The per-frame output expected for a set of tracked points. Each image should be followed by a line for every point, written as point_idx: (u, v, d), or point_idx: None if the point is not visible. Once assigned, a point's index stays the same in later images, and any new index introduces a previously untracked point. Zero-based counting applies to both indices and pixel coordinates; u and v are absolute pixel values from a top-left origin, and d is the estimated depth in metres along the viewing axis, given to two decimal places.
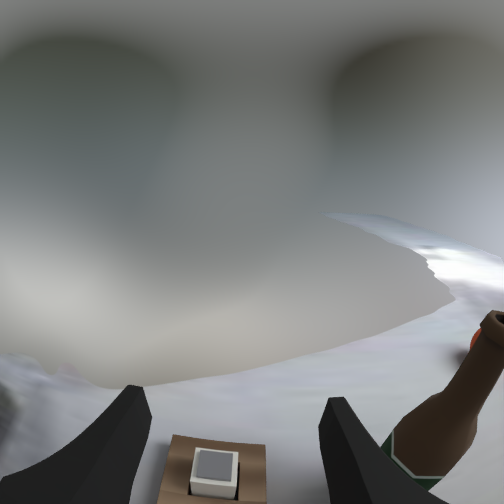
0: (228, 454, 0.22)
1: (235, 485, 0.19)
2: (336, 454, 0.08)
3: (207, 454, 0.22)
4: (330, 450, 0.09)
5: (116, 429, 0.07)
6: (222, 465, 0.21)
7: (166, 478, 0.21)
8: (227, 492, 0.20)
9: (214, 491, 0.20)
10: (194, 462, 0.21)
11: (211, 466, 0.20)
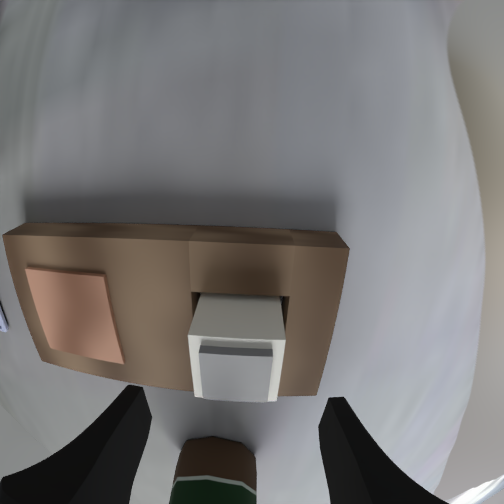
0: (263, 397, 0.12)
1: (197, 395, 0.13)
2: (336, 454, 0.08)
3: (260, 368, 0.12)
4: (330, 450, 0.09)
5: (116, 429, 0.07)
6: (234, 389, 0.12)
7: (220, 250, 0.13)
8: None
9: None
10: (240, 340, 0.12)
11: (228, 375, 0.12)
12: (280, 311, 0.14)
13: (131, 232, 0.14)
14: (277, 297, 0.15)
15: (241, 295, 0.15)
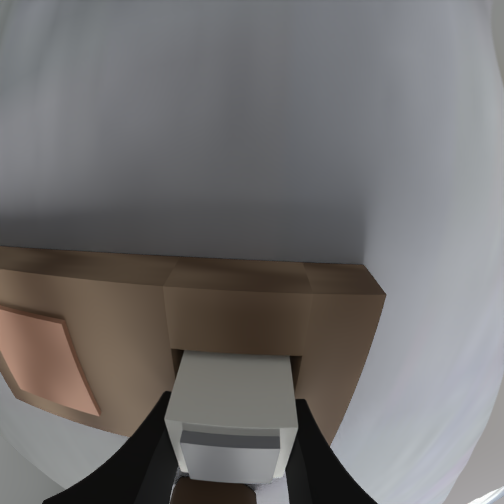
0: (266, 480, 0.08)
1: (183, 471, 0.09)
2: (292, 457, 0.08)
3: (263, 459, 0.07)
4: None
5: (161, 438, 0.07)
6: (229, 474, 0.08)
7: (207, 300, 0.09)
8: None
9: None
10: (236, 429, 0.08)
11: (221, 463, 0.08)
12: (290, 378, 0.10)
13: (91, 267, 0.10)
14: (286, 355, 0.11)
15: None
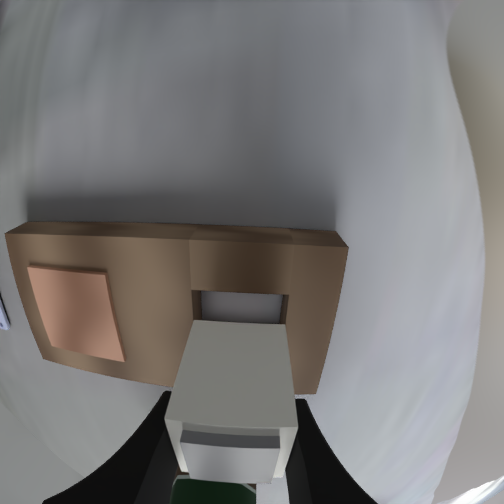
0: (266, 480, 0.08)
1: (183, 470, 0.09)
2: (292, 457, 0.08)
3: (263, 458, 0.08)
4: None
5: (161, 438, 0.07)
6: (229, 474, 0.08)
7: (220, 249, 0.14)
8: None
9: None
10: (236, 428, 0.08)
11: (221, 463, 0.08)
12: (290, 378, 0.10)
13: (132, 231, 0.14)
14: (286, 354, 0.11)
15: (238, 352, 0.11)
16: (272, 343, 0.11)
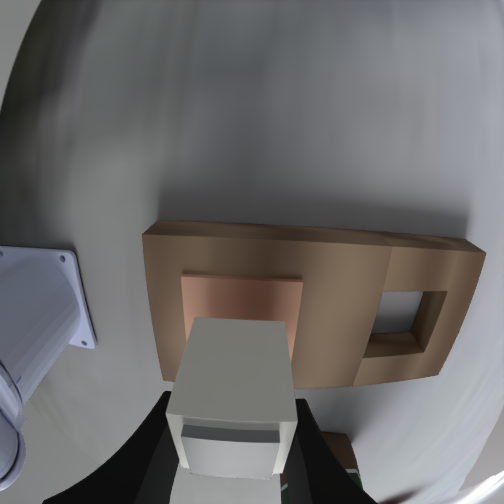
0: (266, 475, 0.08)
1: (184, 466, 0.09)
2: (292, 457, 0.08)
3: (263, 453, 0.08)
4: (288, 453, 0.09)
5: (161, 438, 0.07)
6: (230, 469, 0.08)
7: (414, 254, 0.14)
8: None
9: None
10: (236, 422, 0.08)
11: (221, 457, 0.08)
12: (290, 373, 0.10)
13: (329, 236, 0.15)
14: (285, 351, 0.11)
15: (238, 348, 0.11)
16: (272, 339, 0.12)
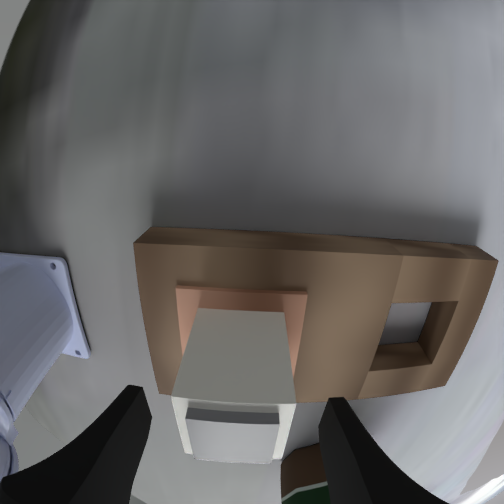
0: (267, 459, 0.09)
1: (187, 452, 0.10)
2: (336, 454, 0.08)
3: (263, 435, 0.08)
4: (330, 450, 0.09)
5: (116, 429, 0.07)
6: (231, 453, 0.09)
7: (425, 264, 0.13)
8: None
9: None
10: (238, 405, 0.08)
11: (224, 440, 0.09)
12: (288, 360, 0.10)
13: (336, 245, 0.14)
14: (285, 339, 0.12)
15: (239, 336, 0.12)
16: (272, 329, 0.12)
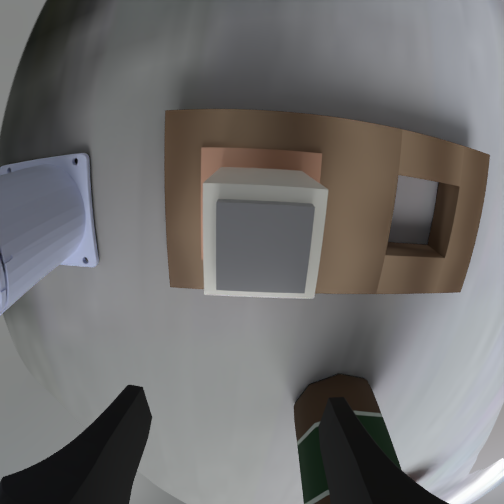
0: (300, 282, 0.10)
1: (207, 292, 0.11)
2: (336, 454, 0.08)
3: (298, 228, 0.09)
4: (330, 450, 0.09)
5: (116, 429, 0.07)
6: (261, 269, 0.10)
7: (423, 141, 0.14)
8: None
9: None
10: (271, 189, 0.09)
11: (255, 241, 0.09)
12: (313, 179, 0.11)
13: None
14: (306, 175, 0.12)
15: (264, 172, 0.12)
16: (293, 172, 0.13)
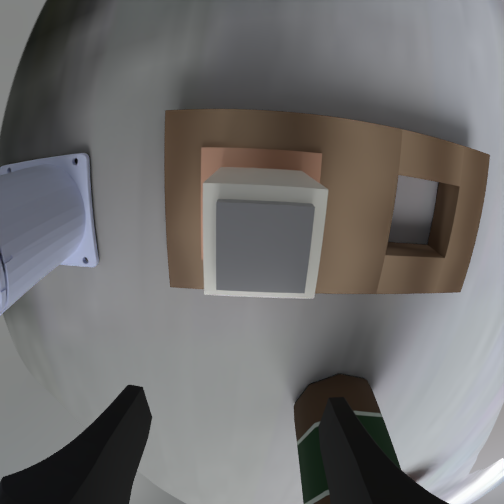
0: (300, 282, 0.10)
1: (207, 292, 0.11)
2: (336, 454, 0.08)
3: (298, 228, 0.09)
4: (330, 450, 0.09)
5: (116, 429, 0.07)
6: (261, 269, 0.10)
7: (423, 141, 0.14)
8: None
9: None
10: (271, 189, 0.09)
11: (255, 241, 0.09)
12: (313, 179, 0.11)
13: None
14: (306, 175, 0.12)
15: (264, 172, 0.12)
16: (293, 172, 0.13)
